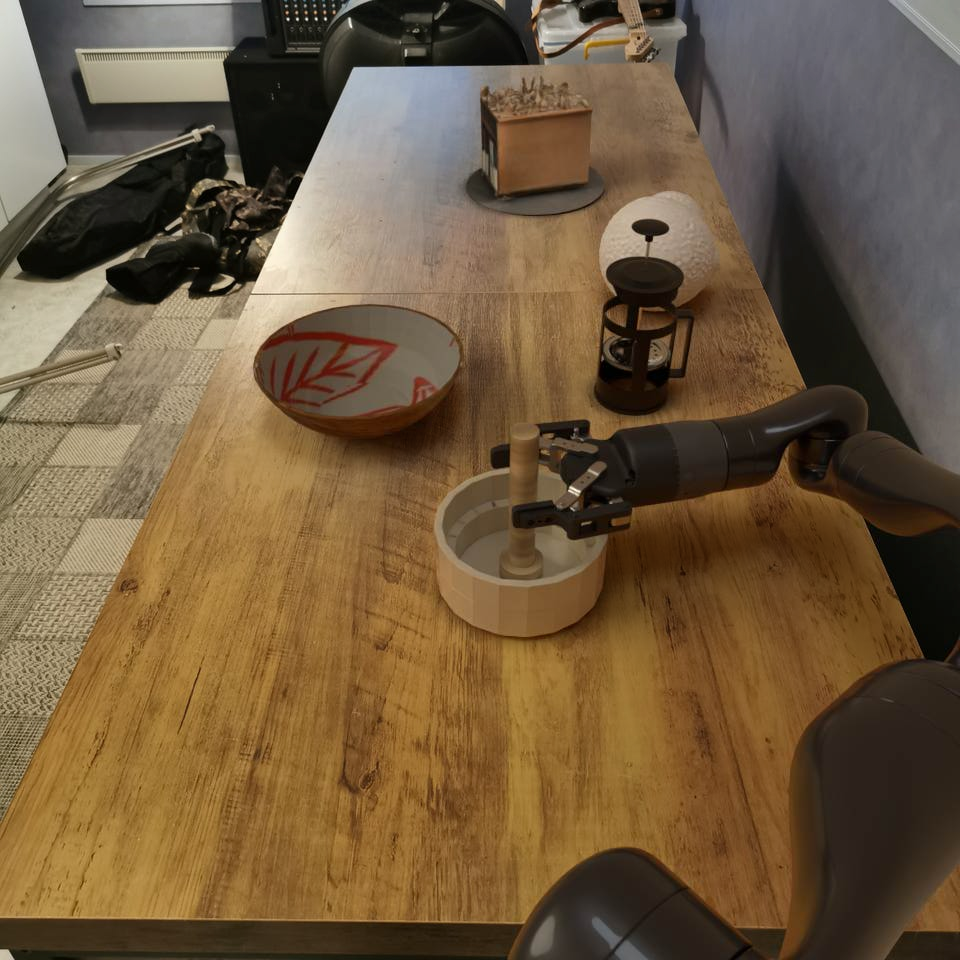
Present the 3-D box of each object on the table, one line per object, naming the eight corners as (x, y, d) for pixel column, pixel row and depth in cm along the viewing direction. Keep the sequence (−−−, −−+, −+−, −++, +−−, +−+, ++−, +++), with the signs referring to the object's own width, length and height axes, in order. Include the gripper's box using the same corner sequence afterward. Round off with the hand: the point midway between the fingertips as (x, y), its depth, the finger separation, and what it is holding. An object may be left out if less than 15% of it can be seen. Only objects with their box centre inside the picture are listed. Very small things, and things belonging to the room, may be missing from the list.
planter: (545, 229, 154) (549, 114, 142) (437, 189, 167) (433, 81, 155) (631, 183, 168) (642, 75, 156) (525, 149, 181) (528, 47, 169)
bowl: (245, 379, 121) (234, 326, 116) (426, 340, 128) (423, 288, 123) (289, 497, 103) (278, 440, 98) (496, 443, 110) (496, 388, 105)
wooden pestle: (547, 584, 92) (555, 442, 80) (504, 592, 91) (506, 449, 80) (536, 554, 95) (542, 412, 84) (495, 560, 95) (495, 419, 83)
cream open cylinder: (624, 624, 89) (631, 570, 84) (454, 654, 86) (452, 599, 81) (575, 511, 101) (579, 457, 96) (425, 533, 99) (421, 480, 94)
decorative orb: (570, 321, 132) (576, 215, 121) (594, 264, 144) (602, 164, 134) (712, 341, 127) (731, 233, 117) (724, 281, 140) (743, 179, 130)
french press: (591, 415, 114) (606, 243, 99) (585, 372, 122) (599, 206, 107) (686, 415, 114) (715, 243, 99) (675, 373, 121) (701, 206, 106)
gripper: (690, 542, 85) (518, 569, 82) (638, 448, 95) (484, 470, 93) (702, 479, 80) (520, 506, 77) (646, 388, 91) (484, 409, 88)
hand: (501, 486), depth 85 cm, fingers open, 8 cm apart
